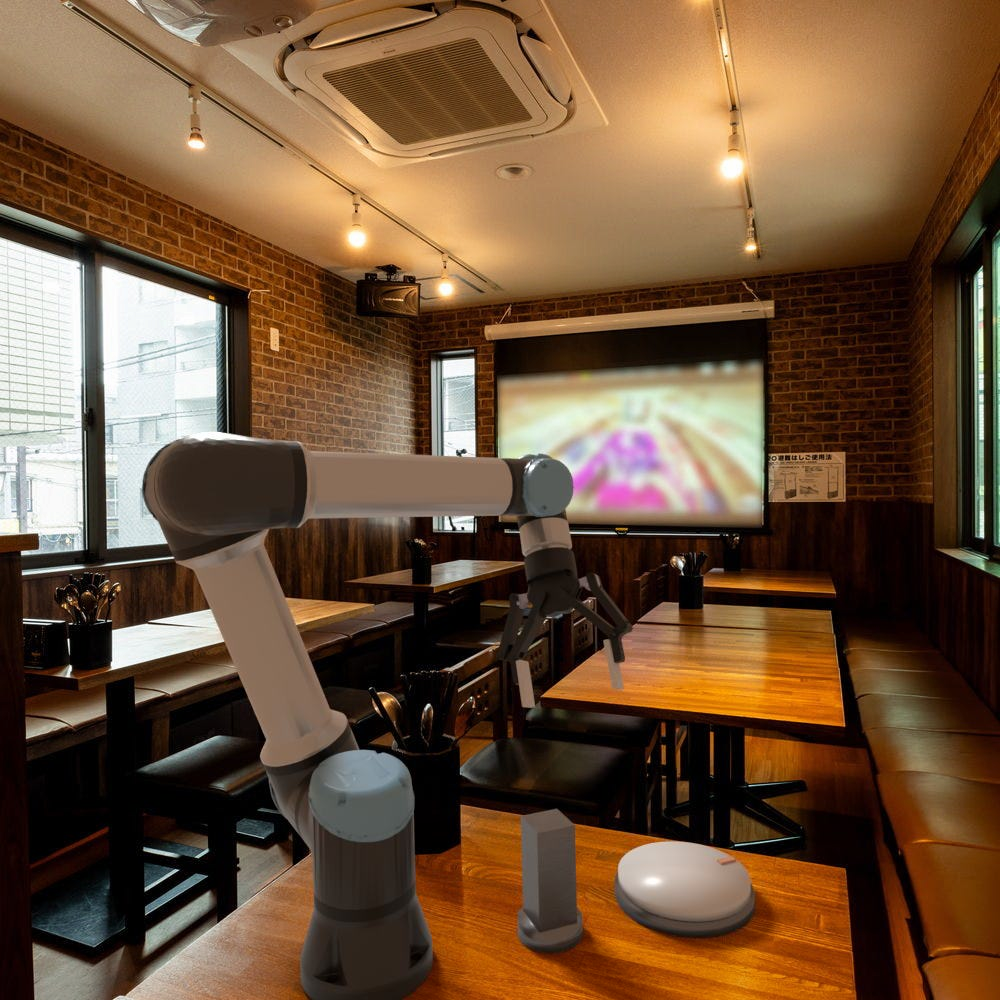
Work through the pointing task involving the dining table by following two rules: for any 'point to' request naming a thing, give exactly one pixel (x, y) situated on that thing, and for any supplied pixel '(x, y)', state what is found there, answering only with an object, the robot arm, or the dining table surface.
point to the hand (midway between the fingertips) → (572, 698)
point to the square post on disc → (549, 884)
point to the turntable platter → (684, 881)
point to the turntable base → (686, 927)
